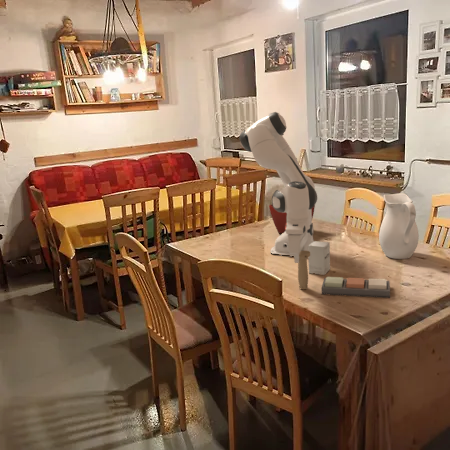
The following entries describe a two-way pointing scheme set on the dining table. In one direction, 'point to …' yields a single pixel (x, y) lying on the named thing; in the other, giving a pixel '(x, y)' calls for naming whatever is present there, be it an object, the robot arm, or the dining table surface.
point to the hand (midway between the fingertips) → (299, 258)
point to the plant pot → (281, 219)
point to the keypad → (356, 290)
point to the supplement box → (319, 257)
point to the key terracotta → (355, 283)
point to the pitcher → (399, 227)
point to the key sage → (334, 282)
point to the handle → (303, 269)
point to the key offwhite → (377, 284)
